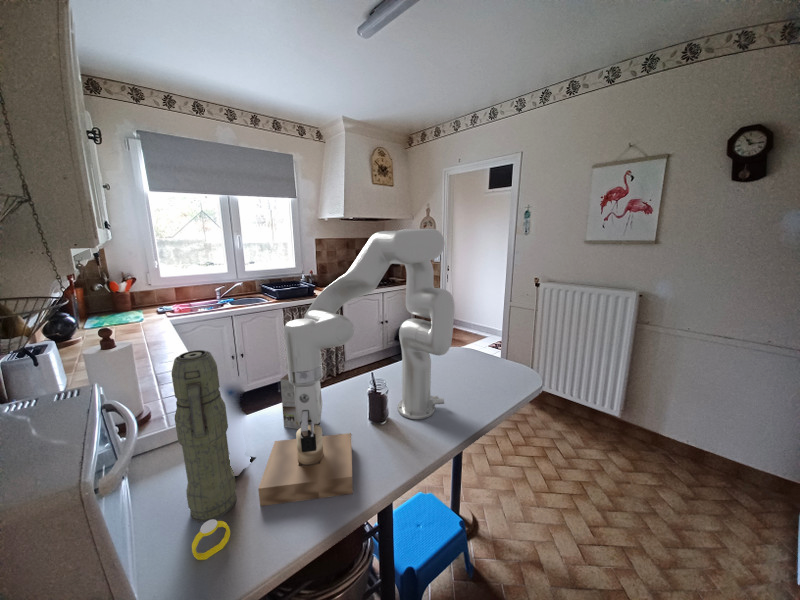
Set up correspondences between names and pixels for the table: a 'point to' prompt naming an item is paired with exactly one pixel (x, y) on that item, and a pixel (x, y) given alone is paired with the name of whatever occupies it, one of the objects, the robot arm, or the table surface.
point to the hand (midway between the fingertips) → (311, 436)
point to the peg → (311, 456)
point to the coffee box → (288, 404)
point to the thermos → (203, 435)
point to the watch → (207, 530)
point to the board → (307, 472)
